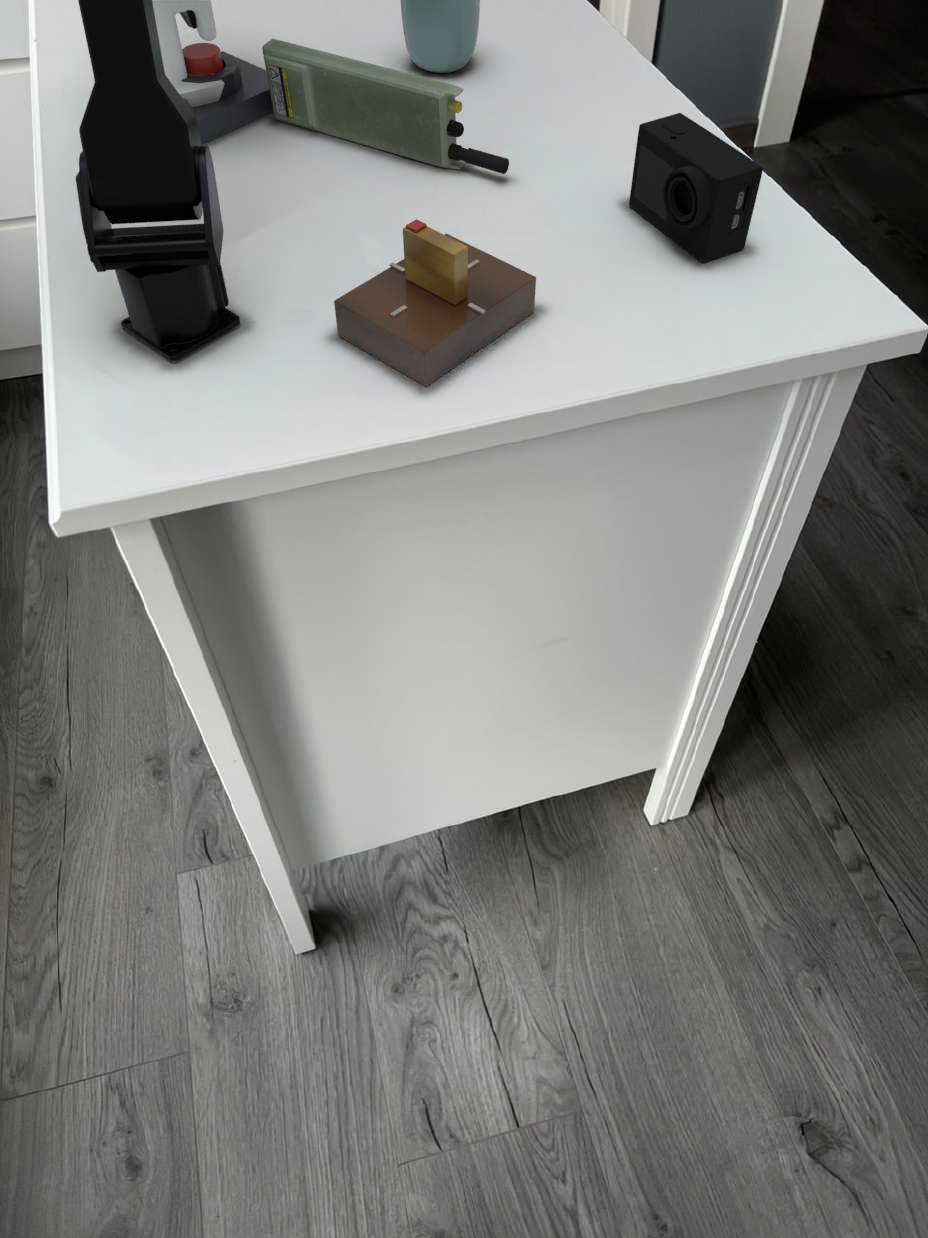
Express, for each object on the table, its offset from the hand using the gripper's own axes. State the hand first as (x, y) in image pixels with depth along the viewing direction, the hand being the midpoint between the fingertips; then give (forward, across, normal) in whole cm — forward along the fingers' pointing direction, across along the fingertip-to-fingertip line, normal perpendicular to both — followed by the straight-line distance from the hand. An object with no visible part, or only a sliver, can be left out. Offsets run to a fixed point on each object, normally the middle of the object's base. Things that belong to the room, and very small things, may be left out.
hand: (195, 26), depth 91 cm
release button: (+4, 0, 0) cm, 4 cm away
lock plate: (+8, -40, +11) cm, 42 cm away
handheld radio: (+8, -18, -6) cm, 20 cm away
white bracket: (-2, 0, +3) cm, 4 cm away
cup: (+8, -10, -22) cm, 25 cm away
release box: (+7, 0, 0) cm, 7 cm away
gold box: (+4, -40, +11) cm, 42 cm away
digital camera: (+8, -46, -12) cm, 48 cm away
